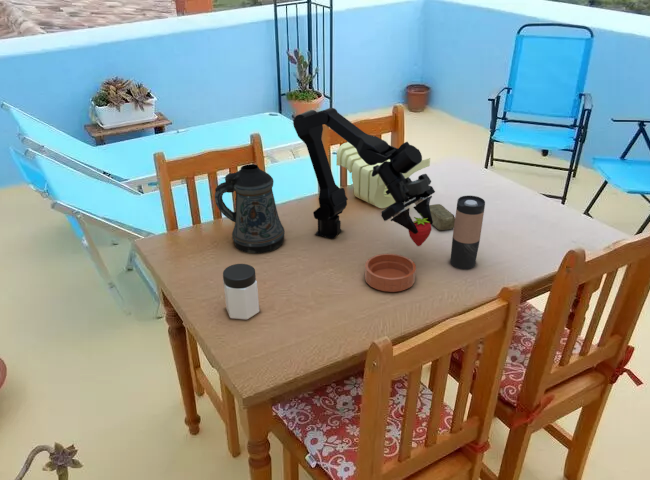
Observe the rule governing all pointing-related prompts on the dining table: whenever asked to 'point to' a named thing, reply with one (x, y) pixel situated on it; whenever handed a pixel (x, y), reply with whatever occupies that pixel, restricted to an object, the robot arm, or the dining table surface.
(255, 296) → the jar
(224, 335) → the dining table surface
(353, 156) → the slatted curved stool
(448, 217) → the stone block
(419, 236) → the strawberry
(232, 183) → the beer stein
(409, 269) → the pot
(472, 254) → the travel mug
